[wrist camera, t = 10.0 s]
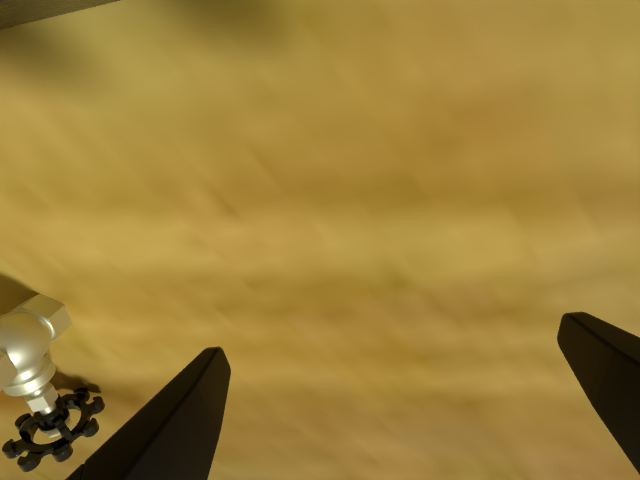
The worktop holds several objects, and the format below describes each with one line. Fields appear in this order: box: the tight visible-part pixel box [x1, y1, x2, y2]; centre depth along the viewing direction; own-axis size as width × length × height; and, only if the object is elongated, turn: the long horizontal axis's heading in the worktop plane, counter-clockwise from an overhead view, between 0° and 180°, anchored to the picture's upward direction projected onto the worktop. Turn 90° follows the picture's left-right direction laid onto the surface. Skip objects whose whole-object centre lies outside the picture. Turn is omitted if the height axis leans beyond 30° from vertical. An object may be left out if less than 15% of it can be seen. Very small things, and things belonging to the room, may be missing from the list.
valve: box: [0, 294, 105, 472], centre depth 24 cm, size 7×7×12 cm
